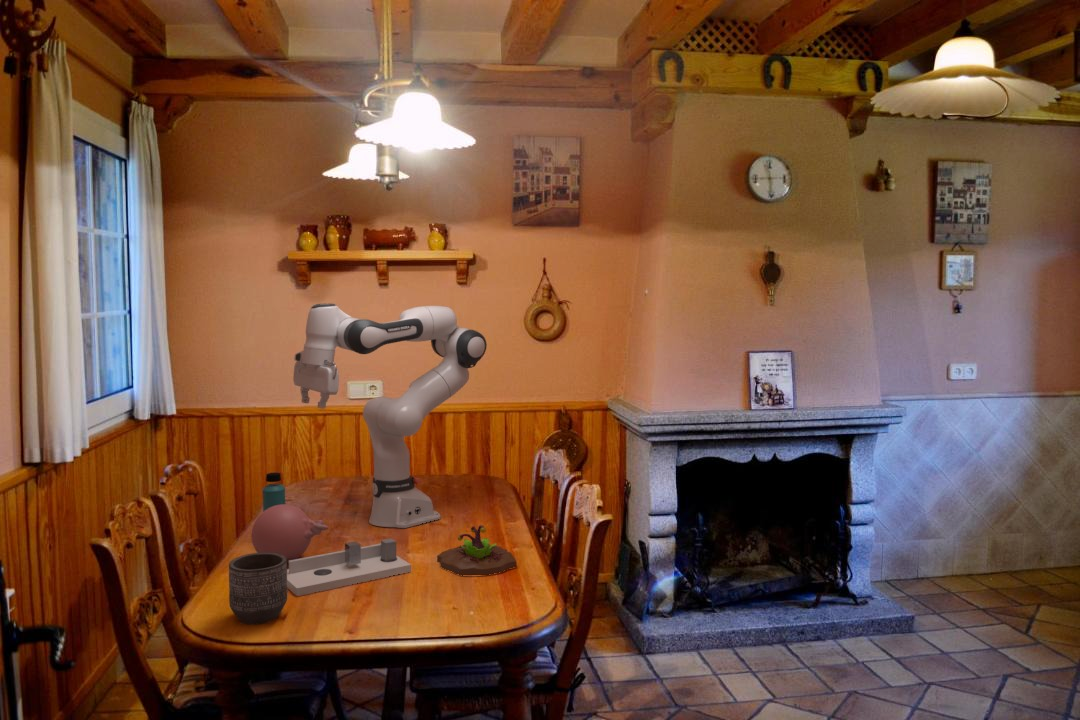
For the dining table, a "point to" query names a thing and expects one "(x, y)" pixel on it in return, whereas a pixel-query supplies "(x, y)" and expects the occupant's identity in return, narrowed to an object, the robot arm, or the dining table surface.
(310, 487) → the dining table surface
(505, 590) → the dining table surface
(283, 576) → the planter
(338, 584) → the grey peg board
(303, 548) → the balloon
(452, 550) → the plant
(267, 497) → the beverage bottle
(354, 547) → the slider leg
